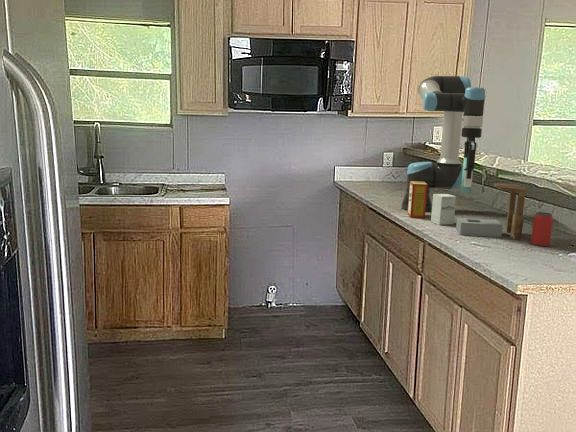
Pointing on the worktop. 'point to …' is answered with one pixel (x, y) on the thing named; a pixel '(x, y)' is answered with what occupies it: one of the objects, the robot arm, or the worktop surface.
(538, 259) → the worktop surface
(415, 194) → the baking soda box
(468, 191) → the peg
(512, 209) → the wooden t-shaped stand
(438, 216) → the supplement box
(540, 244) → the beer can
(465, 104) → the robot arm
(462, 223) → the socket
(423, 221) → the worktop surface
